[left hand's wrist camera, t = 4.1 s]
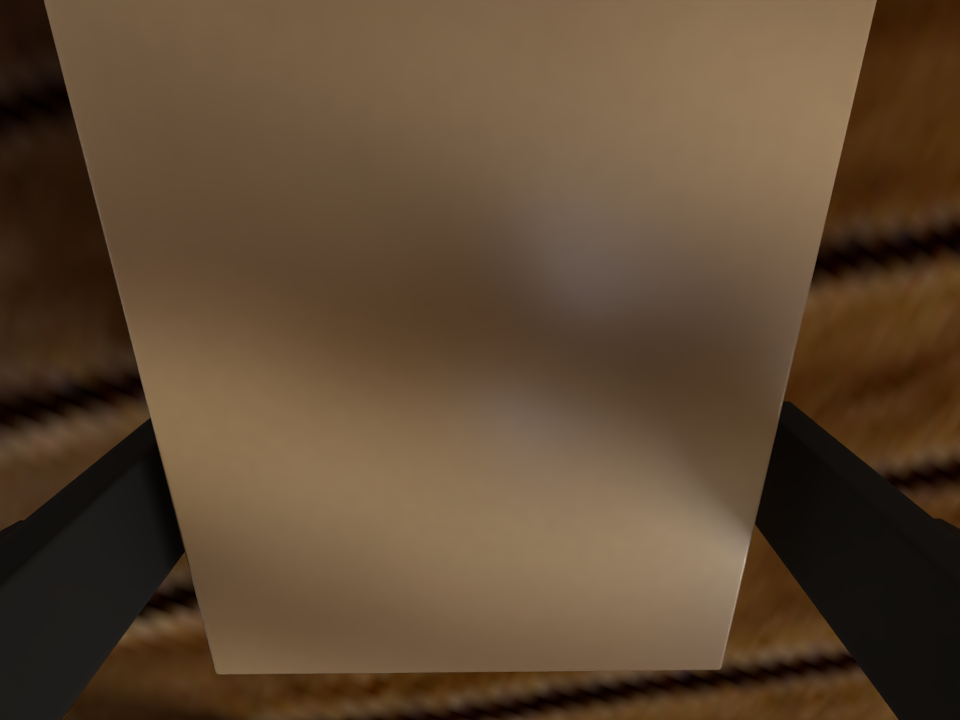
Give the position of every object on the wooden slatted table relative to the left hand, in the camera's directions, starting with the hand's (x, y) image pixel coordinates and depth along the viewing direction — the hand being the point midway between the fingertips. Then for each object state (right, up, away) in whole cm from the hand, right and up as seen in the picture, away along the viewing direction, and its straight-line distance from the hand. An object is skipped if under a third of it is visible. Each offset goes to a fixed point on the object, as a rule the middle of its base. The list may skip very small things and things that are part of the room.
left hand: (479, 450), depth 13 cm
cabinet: (0, +6, +3) cm, 7 cm away
